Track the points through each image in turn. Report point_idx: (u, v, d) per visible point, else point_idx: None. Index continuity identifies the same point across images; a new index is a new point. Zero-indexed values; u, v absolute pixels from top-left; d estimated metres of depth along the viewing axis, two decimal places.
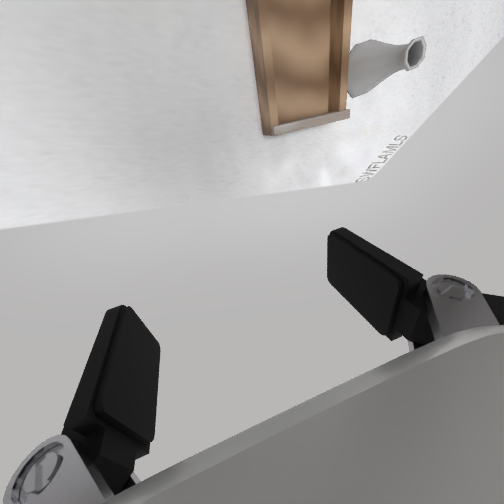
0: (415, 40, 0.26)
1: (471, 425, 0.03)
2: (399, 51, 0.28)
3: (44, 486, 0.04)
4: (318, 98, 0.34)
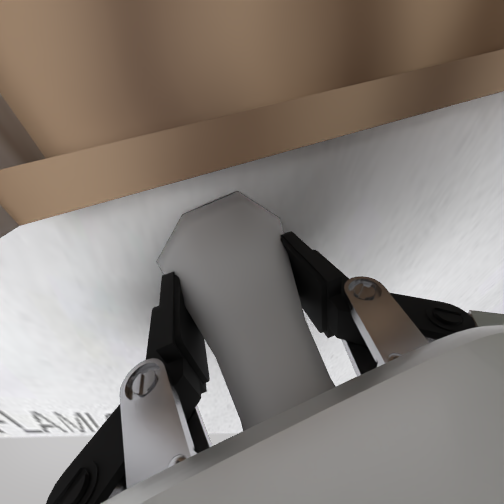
0: None
1: (471, 425, 0.03)
2: None
3: (144, 393, 0.06)
4: (79, 72, 0.06)
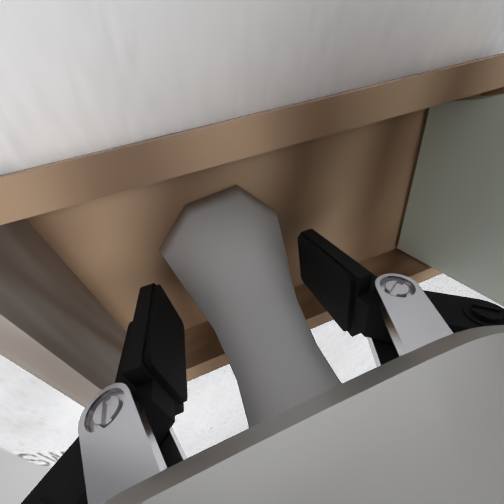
0: None
1: (471, 425, 0.03)
2: (308, 356, 0.05)
3: (107, 422, 0.05)
4: None
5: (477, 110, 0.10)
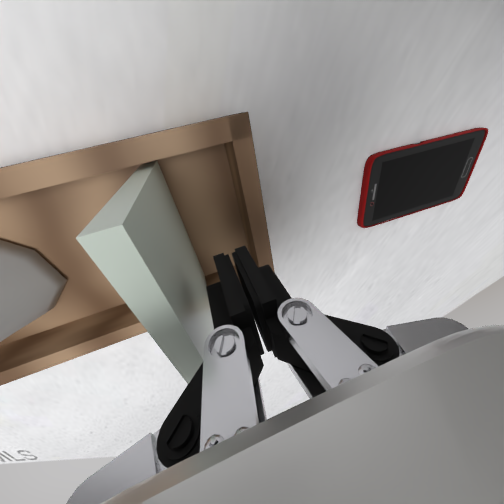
0: None
1: (471, 425, 0.03)
2: None
3: (222, 353, 0.06)
4: None
5: None
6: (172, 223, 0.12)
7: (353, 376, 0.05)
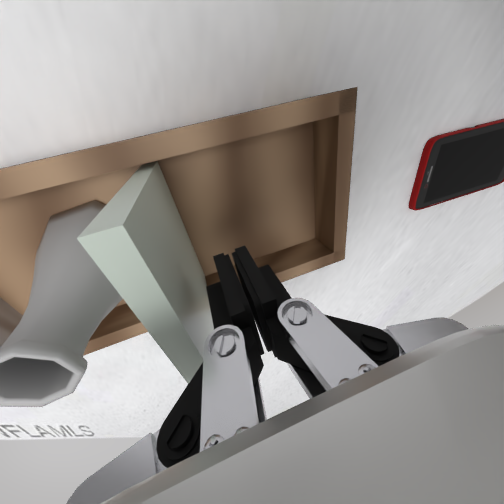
0: (57, 361, 0.08)
1: (471, 425, 0.03)
2: (48, 323, 0.08)
3: (222, 353, 0.06)
4: None
5: None
6: (172, 223, 0.12)
7: (353, 376, 0.05)
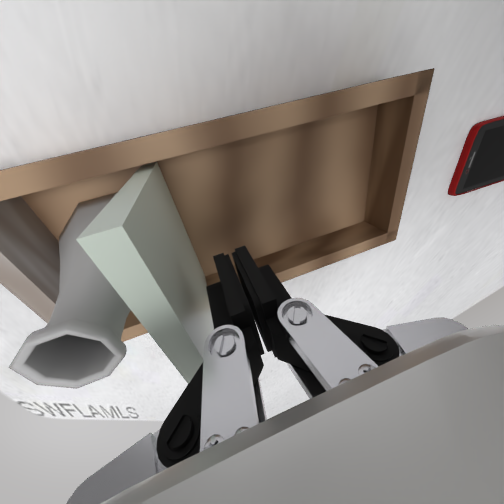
0: (104, 341, 0.08)
1: (471, 425, 0.03)
2: (91, 305, 0.08)
3: (222, 354, 0.06)
4: None
5: None
6: (172, 224, 0.12)
7: (353, 376, 0.05)
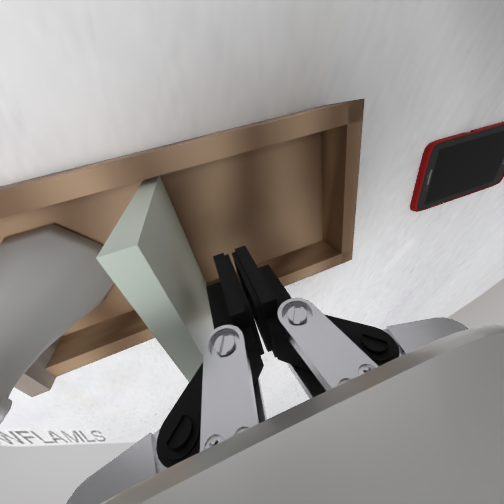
0: None
1: (471, 425, 0.03)
2: None
3: (222, 353, 0.06)
4: None
5: None
6: (175, 235, 0.12)
7: (353, 376, 0.05)
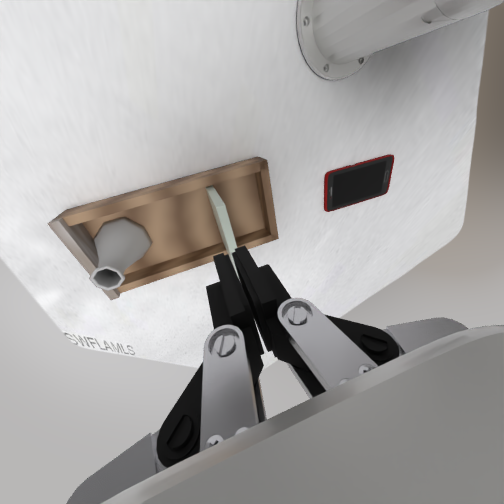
0: (118, 272, 0.24)
1: (471, 425, 0.03)
2: (112, 262, 0.24)
3: (222, 353, 0.06)
4: None
5: (207, 191, 0.29)
6: None
7: (353, 376, 0.05)
